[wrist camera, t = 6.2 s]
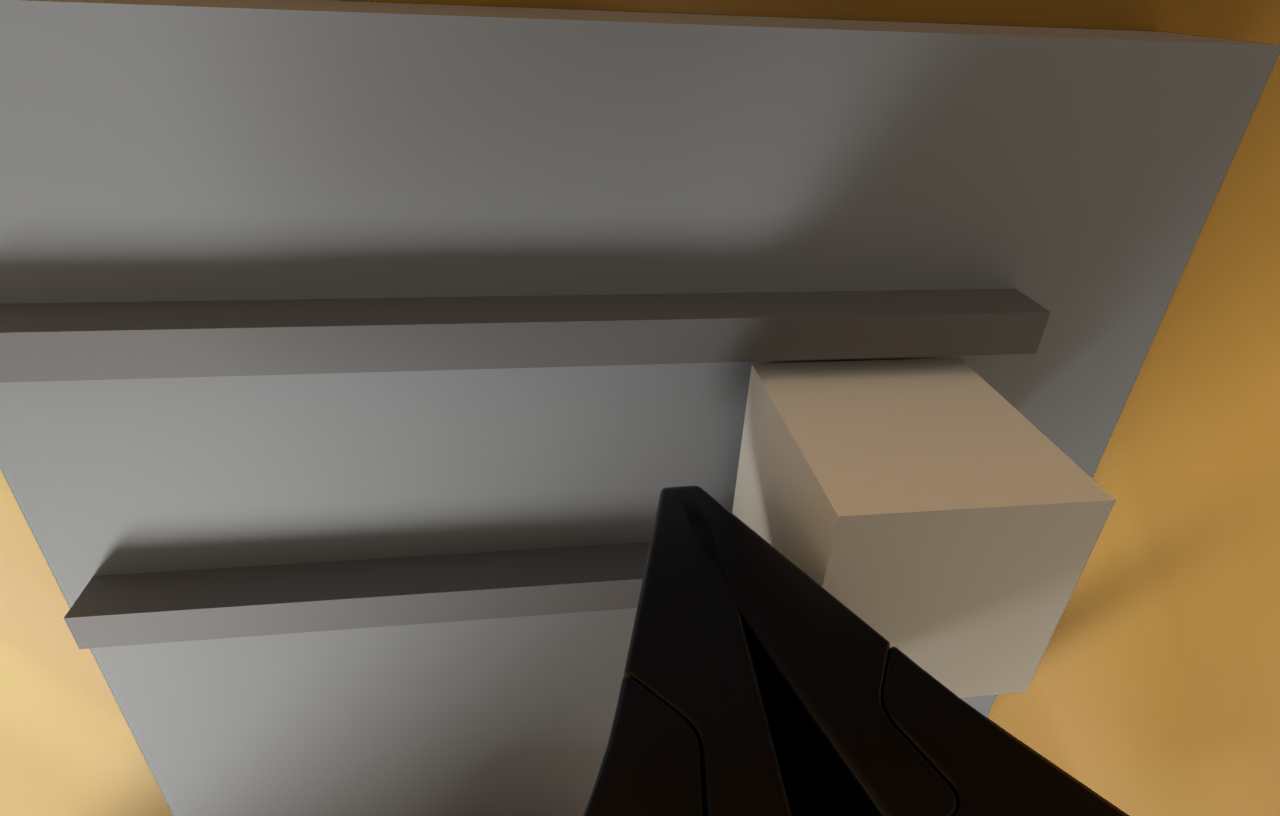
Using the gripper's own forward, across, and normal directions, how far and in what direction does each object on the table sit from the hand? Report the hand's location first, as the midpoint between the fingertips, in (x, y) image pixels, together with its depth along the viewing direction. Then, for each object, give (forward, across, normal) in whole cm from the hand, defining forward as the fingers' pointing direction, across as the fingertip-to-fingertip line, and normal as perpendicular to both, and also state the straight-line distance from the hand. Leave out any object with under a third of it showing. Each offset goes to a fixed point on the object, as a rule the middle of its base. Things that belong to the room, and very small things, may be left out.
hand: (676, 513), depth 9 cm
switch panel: (+4, +1, +6) cm, 7 cm away
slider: (+2, -3, 0) cm, 3 cm away
